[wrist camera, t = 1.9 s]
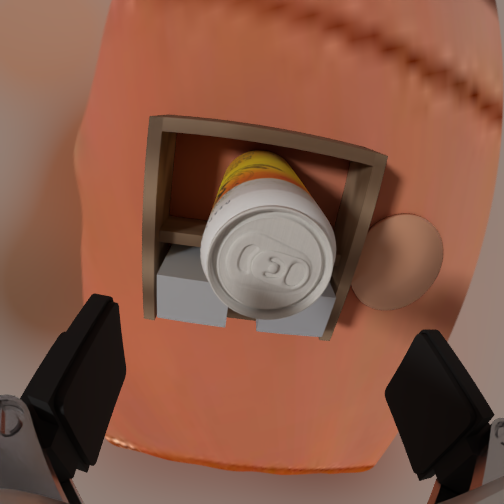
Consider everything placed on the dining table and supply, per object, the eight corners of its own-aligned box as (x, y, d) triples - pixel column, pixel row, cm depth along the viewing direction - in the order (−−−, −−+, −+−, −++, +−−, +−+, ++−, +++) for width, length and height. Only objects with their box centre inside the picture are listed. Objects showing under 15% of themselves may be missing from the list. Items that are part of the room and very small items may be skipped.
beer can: (237, 138, 25) (223, 174, 11) (305, 163, 26) (367, 228, 12) (214, 204, 27) (181, 305, 14) (279, 226, 28) (305, 339, 15)
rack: (167, 114, 24) (149, 116, 19) (364, 147, 25) (387, 156, 20) (157, 288, 31) (143, 318, 26) (319, 309, 32) (329, 340, 28)
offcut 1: (176, 236, 28) (156, 274, 22) (234, 244, 29) (231, 285, 23) (174, 273, 30) (157, 317, 24) (229, 281, 31) (225, 327, 24)
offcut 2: (261, 248, 29) (265, 289, 23) (318, 256, 29) (336, 297, 23) (254, 285, 31) (256, 331, 24) (308, 291, 31) (321, 336, 25)
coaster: (366, 203, 27) (368, 205, 27) (453, 224, 28) (456, 226, 27) (335, 303, 32) (336, 306, 31) (418, 310, 33) (420, 313, 32)
